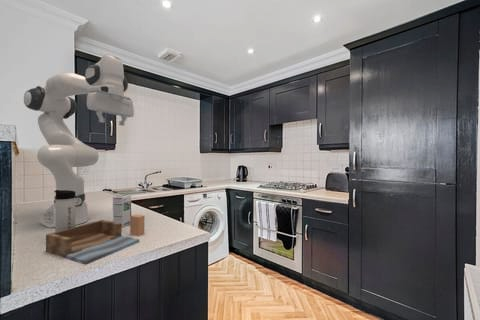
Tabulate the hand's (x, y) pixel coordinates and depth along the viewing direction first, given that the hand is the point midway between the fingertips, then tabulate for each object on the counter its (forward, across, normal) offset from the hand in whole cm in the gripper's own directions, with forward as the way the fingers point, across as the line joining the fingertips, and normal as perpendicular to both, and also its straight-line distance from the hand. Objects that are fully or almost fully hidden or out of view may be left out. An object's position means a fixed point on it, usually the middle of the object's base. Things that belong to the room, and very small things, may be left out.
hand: (112, 123), depth 98 cm
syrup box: (+48, -8, -4) cm, 49 cm away
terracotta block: (+48, -2, +13) cm, 50 cm away
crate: (+48, +14, +10) cm, 51 cm away
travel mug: (+48, +15, -7) cm, 51 cm away
